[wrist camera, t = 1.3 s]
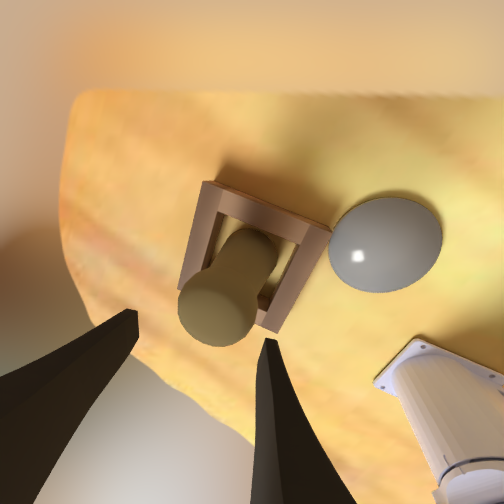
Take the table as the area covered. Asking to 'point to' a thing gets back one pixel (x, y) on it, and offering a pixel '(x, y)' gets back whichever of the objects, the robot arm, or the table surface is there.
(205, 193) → the walnut holder
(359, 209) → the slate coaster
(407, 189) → the table surface
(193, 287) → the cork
